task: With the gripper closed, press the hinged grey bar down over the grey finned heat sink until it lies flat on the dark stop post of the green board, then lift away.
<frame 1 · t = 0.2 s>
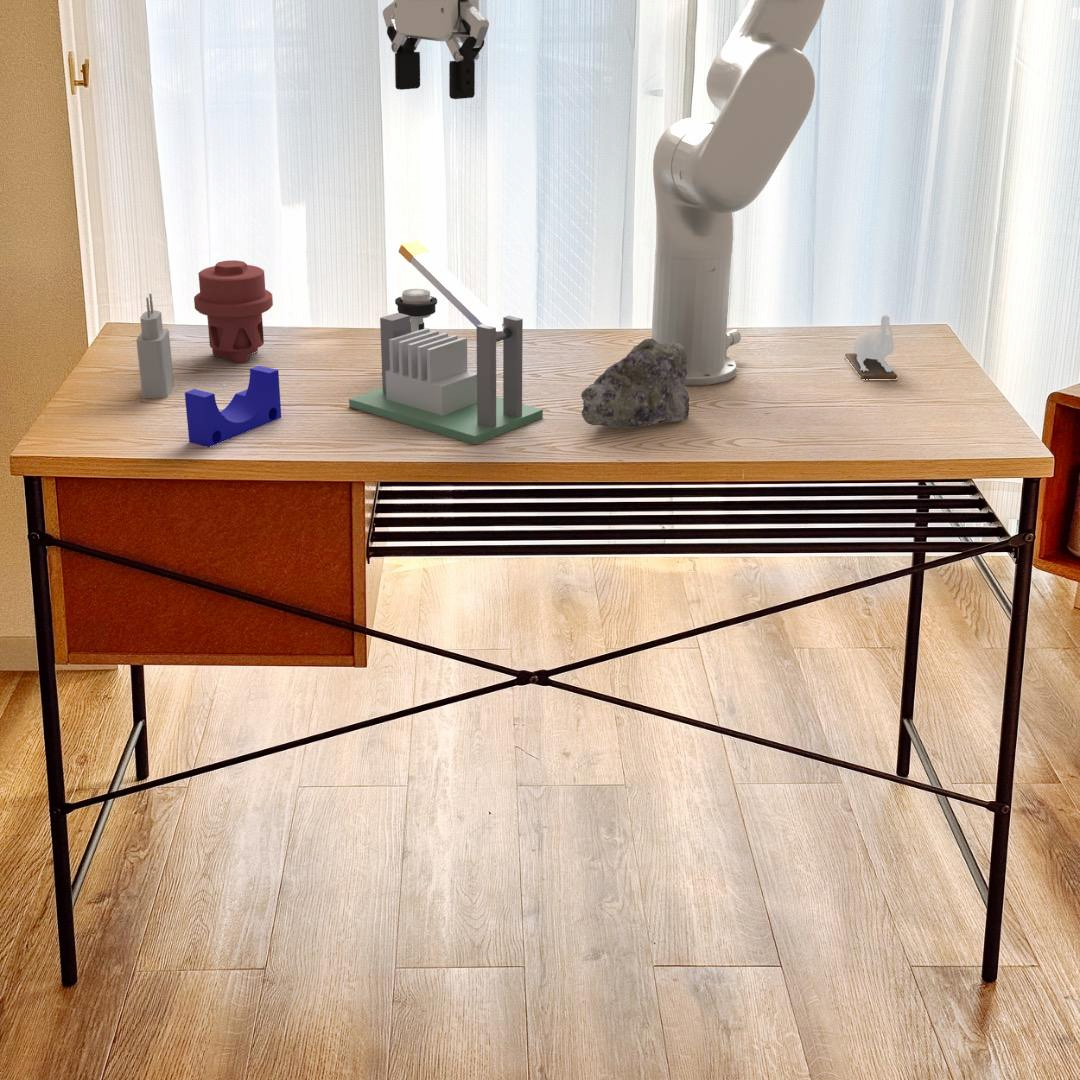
hand: (434, 93, 166), 35 cm above the table, tool pointing down, fingers open, 9 cm apart
hinged grey bar: (454, 291, 166), point 15 cm above the table, hinge at 30.0°
push button: (416, 371, 189), on the table
power adapter: (158, 392, 180), on the table
clip board: (445, 412, 173), on the table
mineral rock: (634, 423, 171), on the table
mechanical component: (238, 357, 193), on the table
blue cradle bracket: (231, 431, 168), on the table
figurine: (873, 376, 189), on the table
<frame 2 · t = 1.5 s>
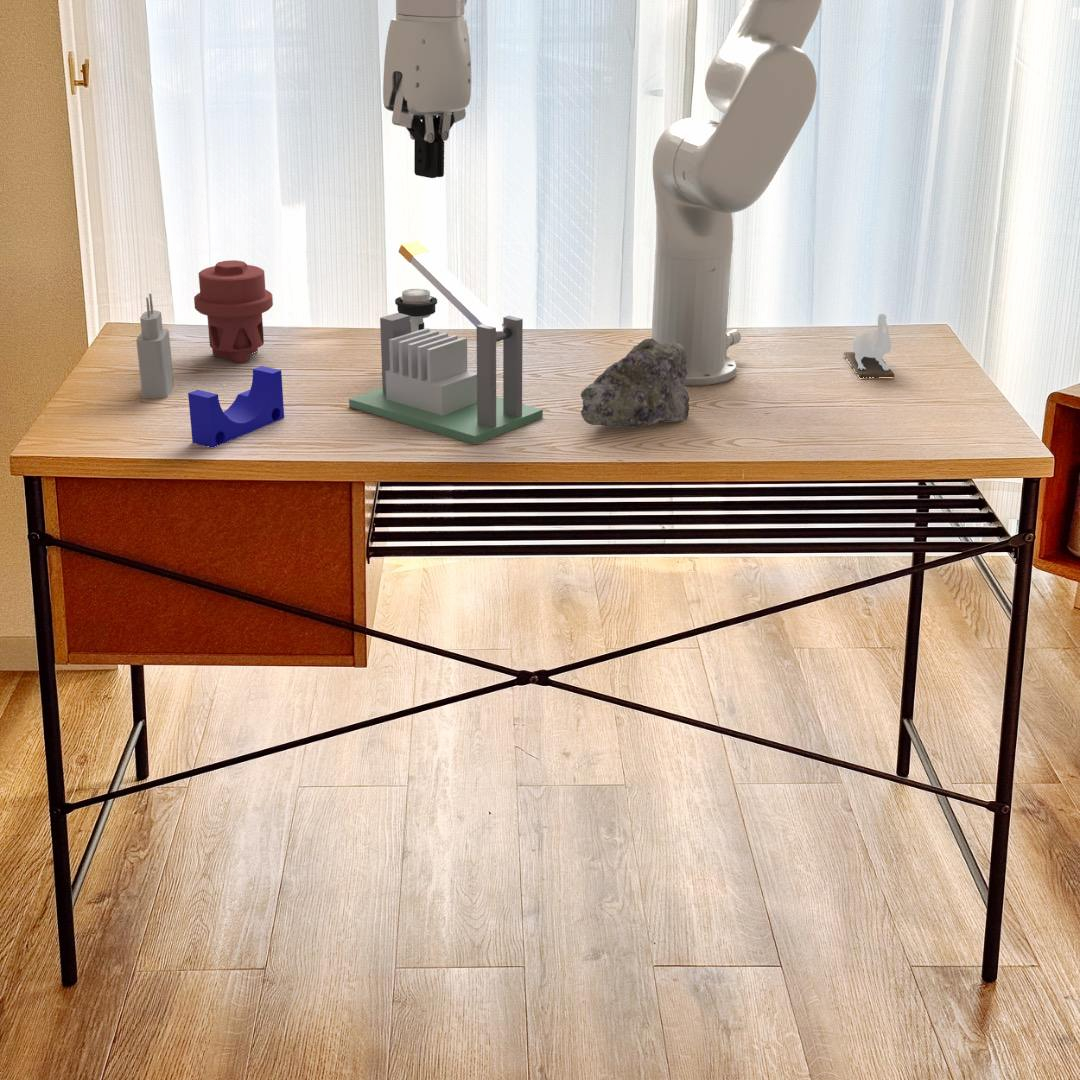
hand: (429, 175, 168), 27 cm above the table, tool pointing down, fingers closed
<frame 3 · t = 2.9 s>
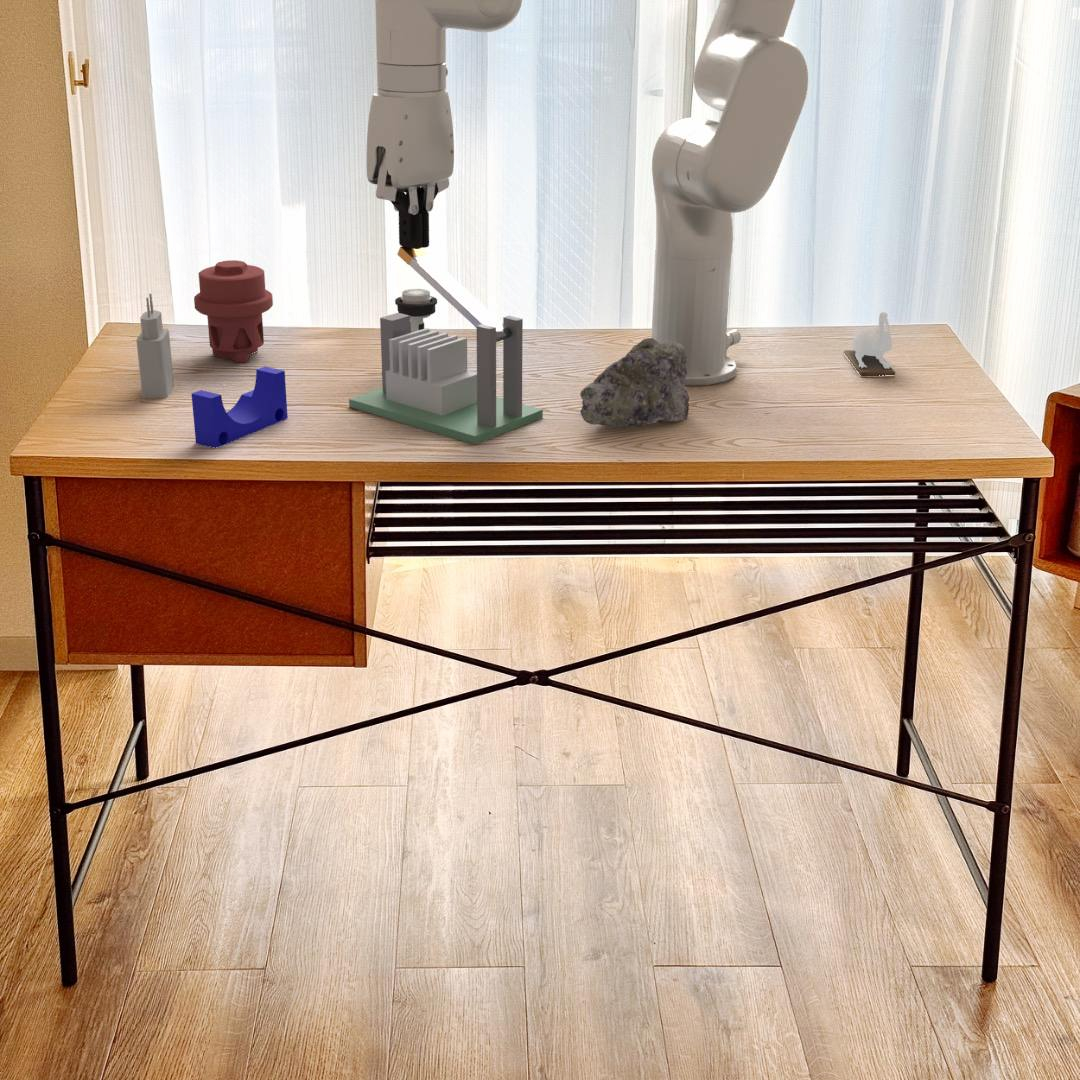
hand: (414, 246, 168), 19 cm above the table, tool pointing down, fingers closed
hinged grey bar: (454, 293, 166), point 15 cm above the table, hinge at 28.6°, touching gripper
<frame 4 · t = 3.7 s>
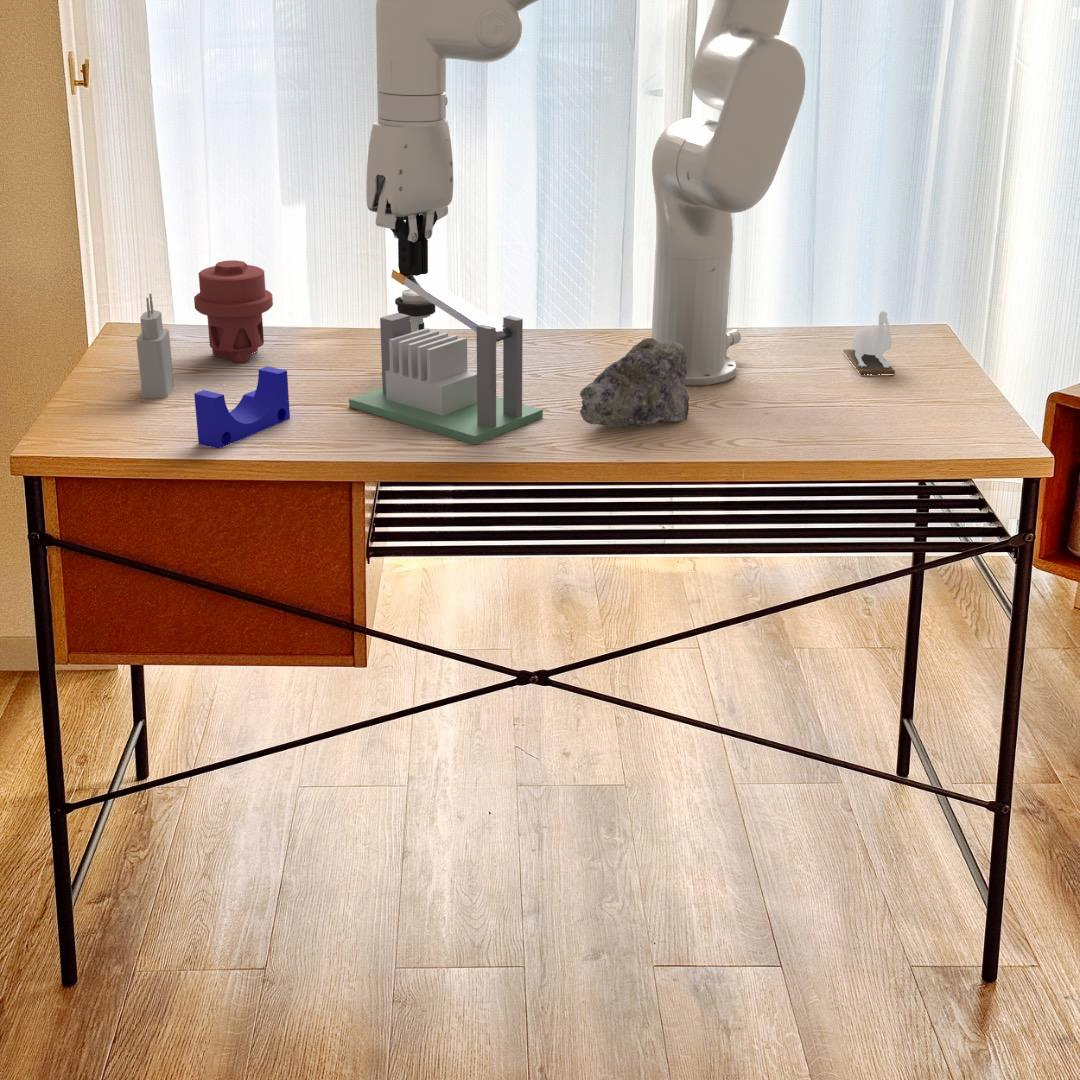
hand: (413, 272, 169), 16 cm above the table, tool pointing down, fingers closed
hinged grey bar: (450, 303, 167), point 13 cm above the table, hinge at 17.7°, touching gripper
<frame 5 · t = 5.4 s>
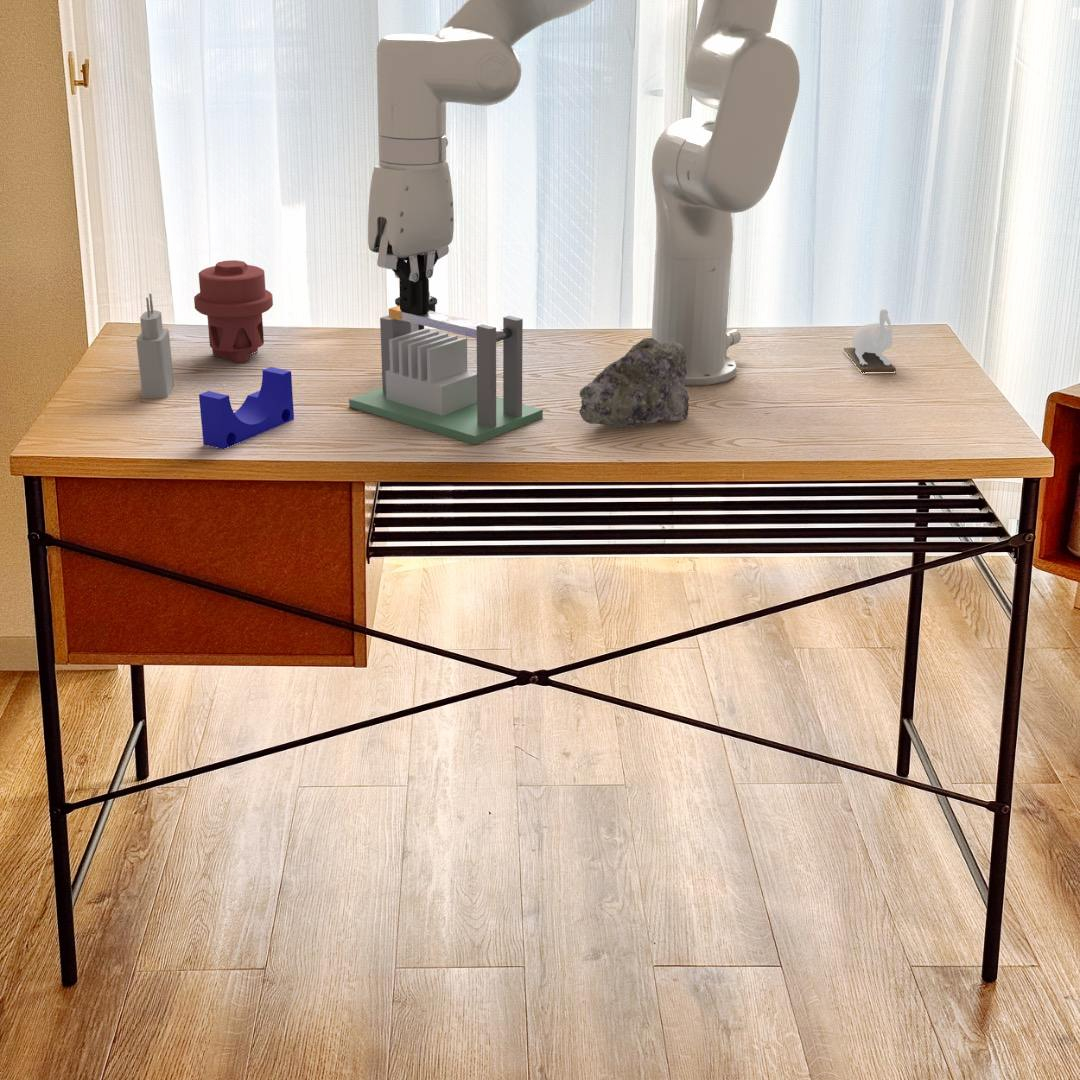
hand: (414, 311, 171), 12 cm above the table, tool pointing down, fingers closed
hinged grey bar: (448, 323, 168), point 11 cm above the table, hinge at -0.1°, touching gripper
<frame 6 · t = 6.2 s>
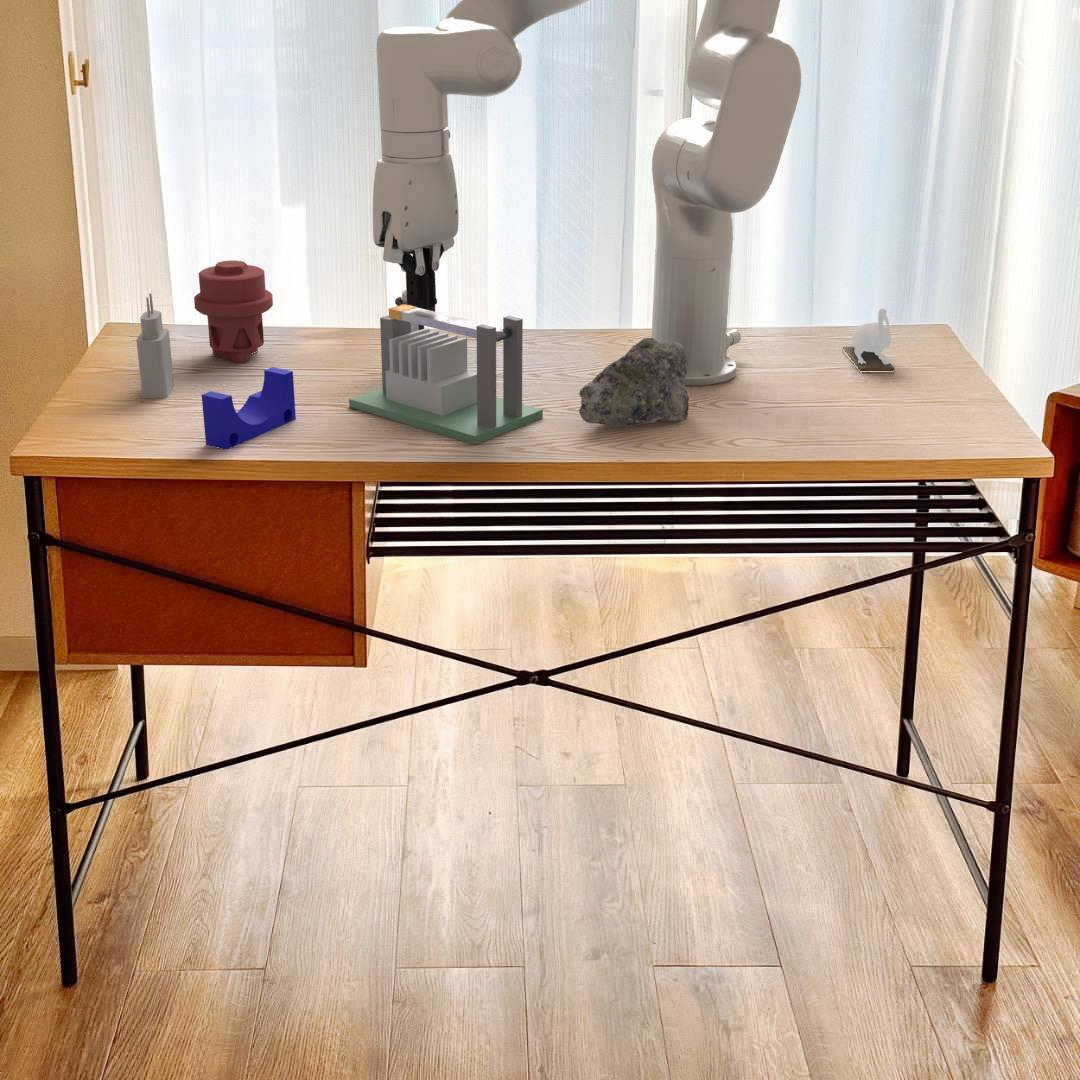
hand: (421, 304, 171), 12 cm above the table, tool pointing down, fingers closed
hinged grey bar: (448, 323, 168), point 11 cm above the table, hinge at -0.1°
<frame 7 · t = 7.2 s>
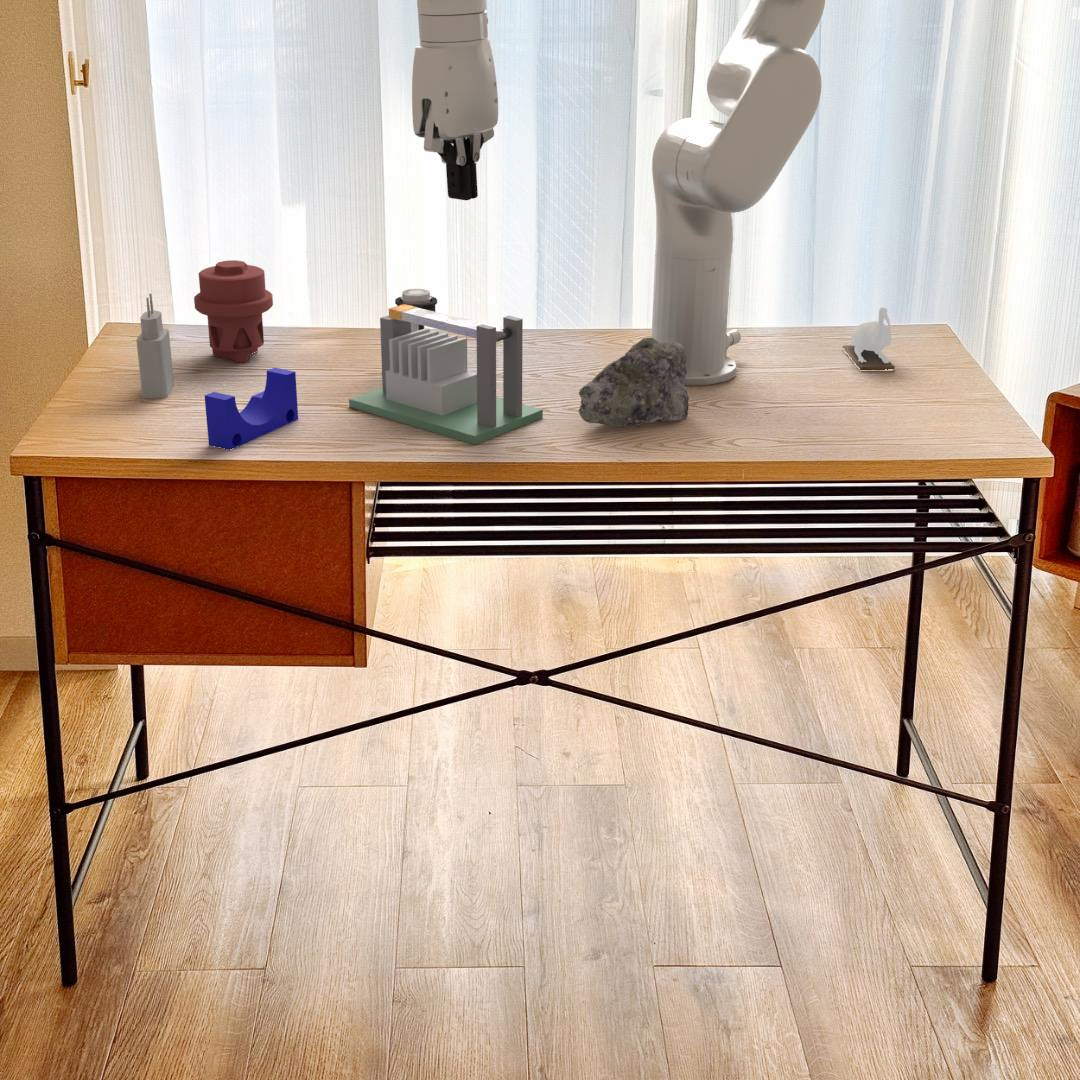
hand: (462, 197, 168), 24 cm above the table, tool pointing down, fingers closed
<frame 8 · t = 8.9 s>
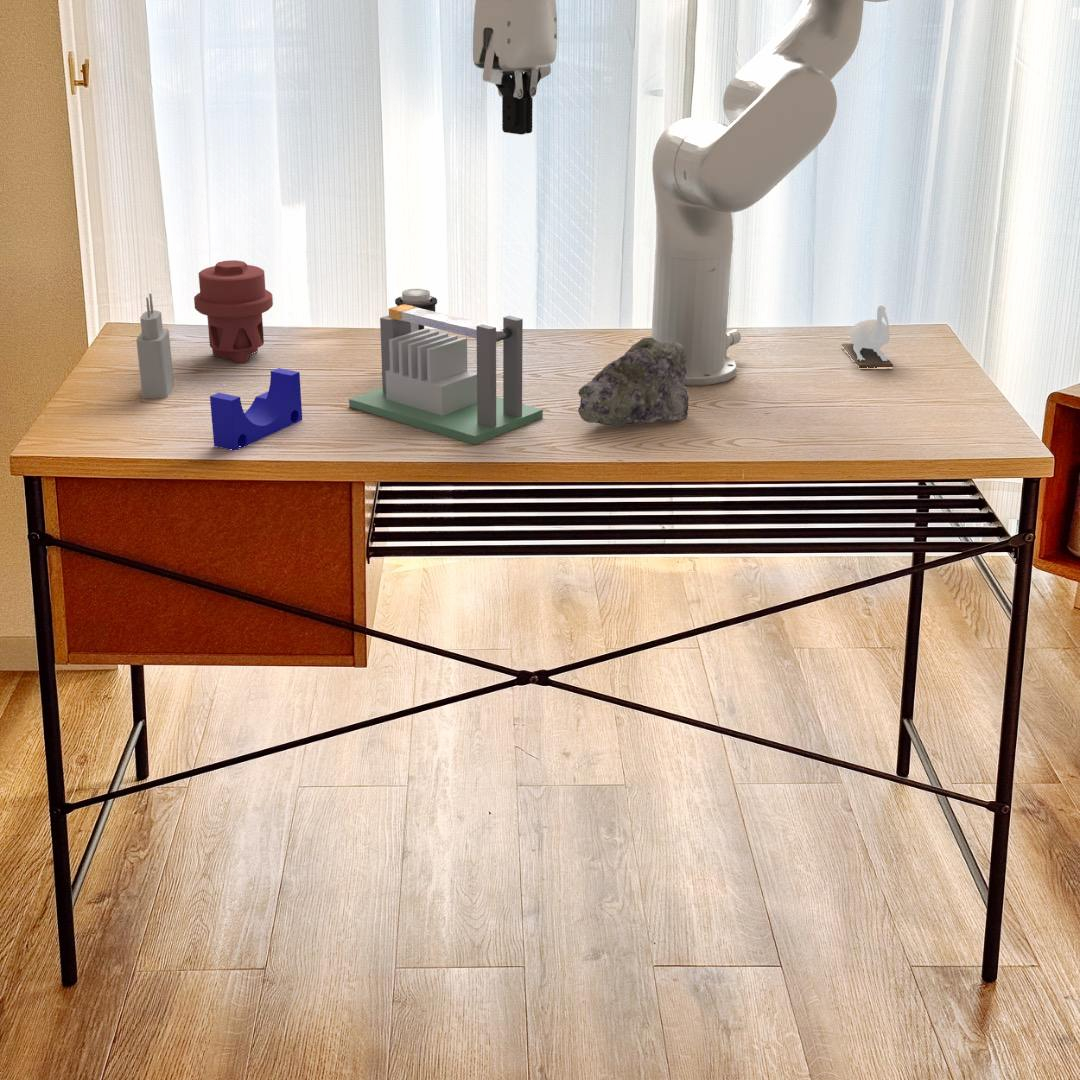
hand: (517, 132, 169), 31 cm above the table, tool pointing down, fingers closed
at the end: hinged grey bar at +0° (first picture: +30°); hinged grey bar touching nothing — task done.
